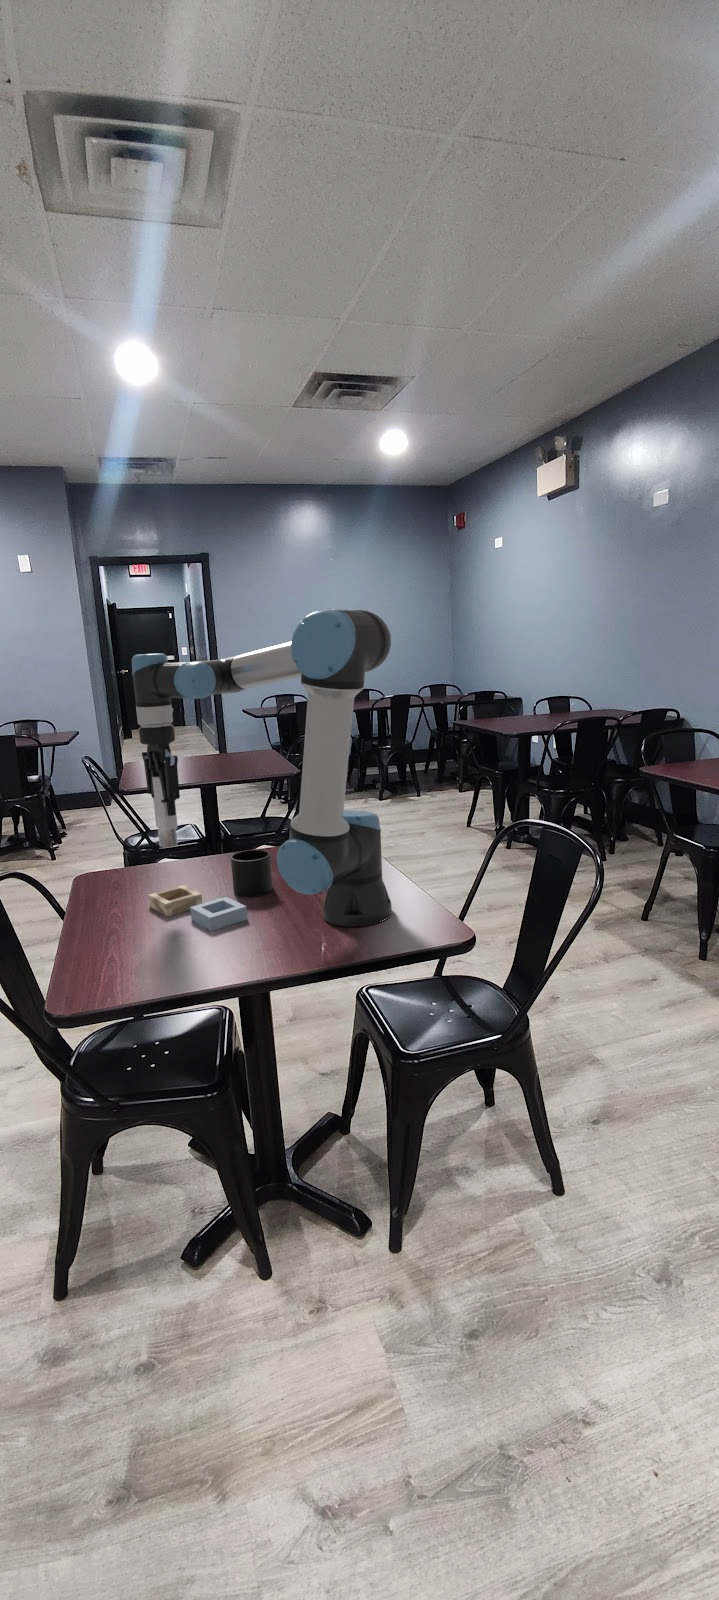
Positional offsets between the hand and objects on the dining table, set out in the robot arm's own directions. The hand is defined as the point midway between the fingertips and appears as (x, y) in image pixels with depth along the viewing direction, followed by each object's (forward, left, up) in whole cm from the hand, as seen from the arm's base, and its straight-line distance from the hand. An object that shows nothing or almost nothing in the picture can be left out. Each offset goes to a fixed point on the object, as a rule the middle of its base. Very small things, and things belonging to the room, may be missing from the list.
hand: (166, 827), depth 164 cm
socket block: (-15, -3, -19) cm, 25 cm away
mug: (-3, -19, -19) cm, 27 cm away
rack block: (0, 0, -19) cm, 19 cm away
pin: (0, 0, -4) cm, 4 cm away
